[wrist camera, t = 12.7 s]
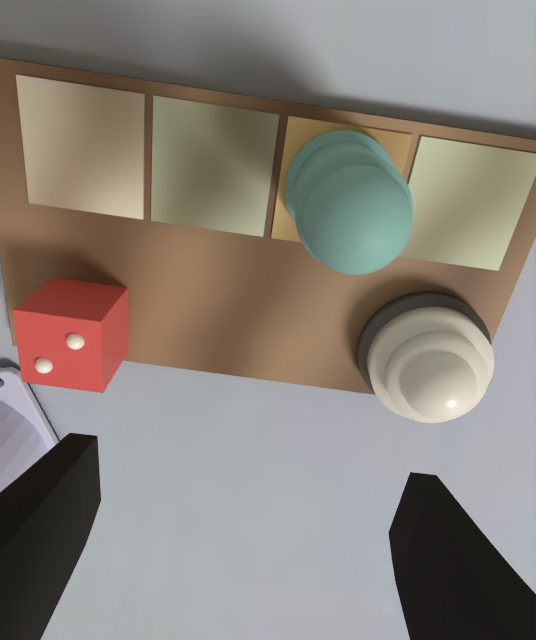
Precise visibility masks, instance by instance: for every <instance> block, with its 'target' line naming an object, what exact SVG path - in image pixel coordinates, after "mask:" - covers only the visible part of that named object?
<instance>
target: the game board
mask: <svg viewBox="0 0 536 640" xmlns="http://www.w3.org/2000/svg"><path fill="white" fill-rule="evenodd" d="M334 130H352V131H356V132H360V133H362V134H364V135H367V136H368V137H370V138H372V139H373V140H375V141H376V142H377V143H379V144H380V145H381V146H382V147H383V148H384V149H385V151H386V152H387V153H388V155H389V156H390V158H391V160H392V162H393V164H394V167H395V168H396V169H397V170H398V171H399V172H400V174H401V175H402V176H403V178H404V179H405V181H406V182H407V185H408V187H409V189H410V192H411V196H412V202H413V214H412V227H411V231H410V235H409V238H408V240H407V243H406V244H405V246H404V248H403V249H402V251H401V252H400V254H399V255H398V256H397V257H396V258H395V259H394V260H393V261H392V262H391V263H389V264H388V265H386V266H385V267H383V268H381V269H379V270H377V271H374V272H372V273H368V274H362V275H349V274H344V273H340V272H337V271H334V270H332V269H330V268H328V267H327V266H325V265H324V264H322V263H320V262H319V261H317V260H316V259H315V258H314V257H312V256H311V255H310V254H309V253H308V251H307V250H306V249H305V247H304V246H303V244H302V242H301V240H300V238H299V236H298V232H297V229H296V224H295V223H294V221H293V219H292V218H291V216H290V213H289V211H288V208H287V204H286V199H285V182H286V176H287V172H288V169H289V167H290V164H291V162H292V160H293V158H294V157H295V155H296V154H297V153H298V151H299V150H300V149H301V148H302V147H303V146H304V145H305V144H306V143H307V142H309V141H310V140H311V139H313V138H315V137H316V136H318V135H321V134H323V133H326V132H329V131H334ZM535 237H536V140H534V139H528V138H521V137H515V136H508V135H502V134H495V133H489V132H482V131H476V130H469V129H462V128H456V127H449V126H443V125H436V124H430V123H423V122H417V121H410V120H404V119H397V118H390V117H384V116H377V115H371V114H364V113H358V112H351V111H345V110H338V109H332V108H325V107H318V106H312V105H305V104H299V103H292V102H286V101H279V100H273V99H266V98H260V97H253V96H246V95H240V94H233V93H227V92H220V91H214V90H207V89H201V88H194V87H188V86H181V85H174V84H168V83H161V82H155V81H148V80H142V79H135V78H129V77H122V76H116V75H109V74H102V73H96V72H89V71H83V70H76V69H70V68H63V67H57V66H50V65H44V64H37V63H30V62H24V61H17V60H11V59H4V58H0V257H1V264H2V272H3V279H4V286H5V293H6V300H7V308H8V315H9V322H10V329H11V337H12V344H13V346H17V341H16V333H15V326H14V318H13V311H12V310H13V309H14V308H15V307H17V306H18V305H19V304H20V303H22V302H23V301H24V300H25V299H27V298H28V297H29V296H30V295H31V294H33V293H34V292H35V291H36V290H38V289H39V288H40V287H41V286H43V285H44V284H45V283H46V282H48V281H49V280H50V279H51V278H53V277H54V278H61V279H68V280H75V281H82V282H90V283H97V284H104V285H111V286H118V287H125V288H128V353H127V354H126V356H125V358H124V359H123V361H131V362H138V363H145V364H153V365H160V366H168V367H175V368H182V369H190V370H197V371H205V372H212V373H219V374H227V375H234V376H242V377H249V378H256V379H264V380H271V381H279V382H286V383H293V384H301V385H308V386H315V387H323V388H330V389H338V390H345V391H352V392H360V393H367V394H375V392H374V390H373V386H372V383H371V380H370V376H369V372H368V368H367V355H368V350H369V348H370V345H371V343H372V341H373V339H374V337H375V336H376V334H377V333H378V332H379V331H380V329H381V328H382V327H383V326H384V325H385V324H387V323H388V322H389V321H390V320H392V319H393V318H395V317H396V316H398V315H400V314H402V313H404V312H407V311H410V310H413V309H417V308H422V307H434V306H435V307H444V308H449V309H452V310H455V311H458V312H460V313H462V314H464V315H465V316H467V317H468V318H469V319H470V320H471V321H473V322H474V323H475V325H476V326H477V327H478V328H479V330H480V331H481V332H482V333H483V335H484V336H485V337H486V339H487V340H488V341H489V343H490V345H491V342H492V340H493V338H494V335H495V333H496V330H497V328H498V326H499V323H500V321H501V318H502V316H503V314H504V311H505V309H506V306H507V304H508V302H509V299H510V297H511V294H512V292H513V290H514V287H515V285H516V282H517V280H518V278H519V275H520V273H521V270H522V268H523V266H524V263H525V261H526V258H527V256H528V254H529V251H530V249H531V246H532V244H533V242H534V239H535ZM375 395H376V394H375Z"/></svg>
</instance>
